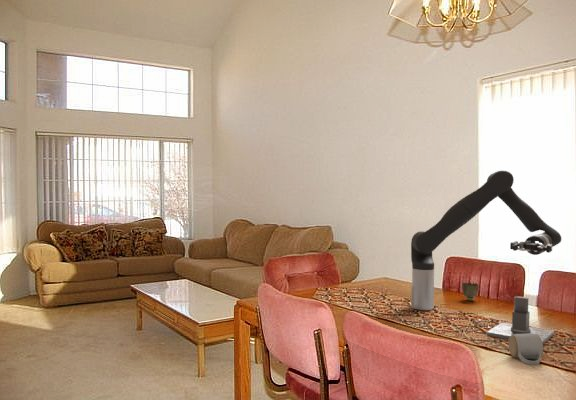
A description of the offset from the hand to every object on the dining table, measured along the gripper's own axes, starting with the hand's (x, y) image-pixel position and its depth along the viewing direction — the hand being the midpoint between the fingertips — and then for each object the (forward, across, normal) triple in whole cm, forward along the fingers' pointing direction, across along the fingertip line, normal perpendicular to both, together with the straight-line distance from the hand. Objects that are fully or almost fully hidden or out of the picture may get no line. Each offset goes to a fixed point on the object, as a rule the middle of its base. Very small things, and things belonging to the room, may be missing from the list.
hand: (526, 248), depth 194 cm
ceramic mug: (+41, +12, +28) cm, 51 cm away
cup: (-33, -33, +31) cm, 56 cm away
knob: (+14, +2, +27) cm, 30 cm away
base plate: (+14, +2, +29) cm, 32 cm away
